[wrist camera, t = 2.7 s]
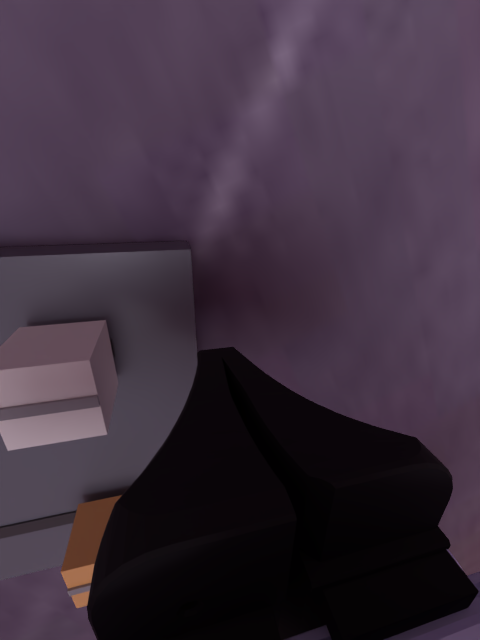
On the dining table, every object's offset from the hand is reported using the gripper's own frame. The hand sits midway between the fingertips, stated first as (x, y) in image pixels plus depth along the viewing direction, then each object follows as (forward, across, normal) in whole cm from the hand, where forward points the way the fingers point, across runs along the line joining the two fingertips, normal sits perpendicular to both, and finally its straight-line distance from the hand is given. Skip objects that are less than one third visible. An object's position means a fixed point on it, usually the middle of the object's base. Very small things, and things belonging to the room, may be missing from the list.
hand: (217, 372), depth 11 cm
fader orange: (+2, +6, +10) cm, 12 cm away
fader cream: (+2, +5, 0) cm, 6 cm away
